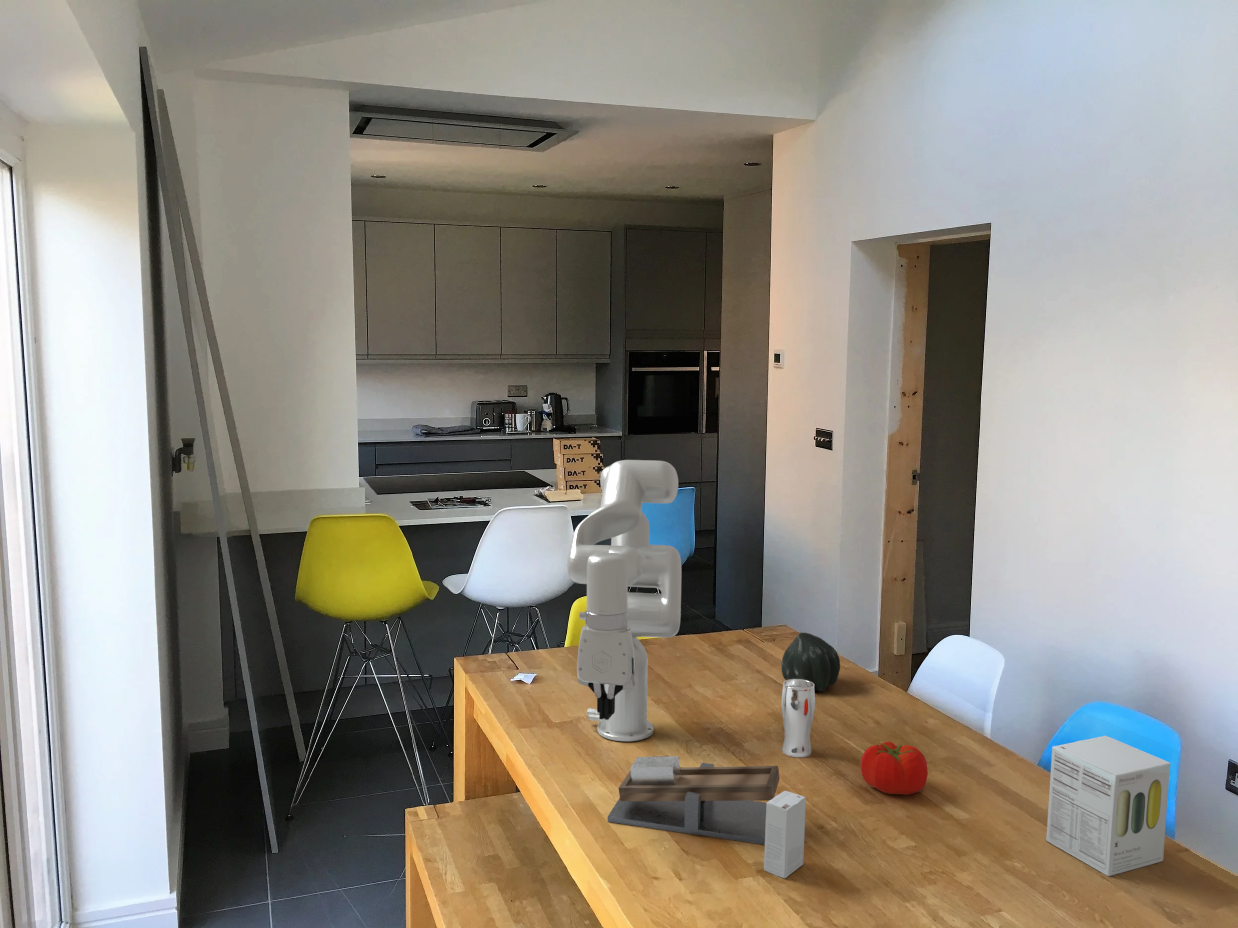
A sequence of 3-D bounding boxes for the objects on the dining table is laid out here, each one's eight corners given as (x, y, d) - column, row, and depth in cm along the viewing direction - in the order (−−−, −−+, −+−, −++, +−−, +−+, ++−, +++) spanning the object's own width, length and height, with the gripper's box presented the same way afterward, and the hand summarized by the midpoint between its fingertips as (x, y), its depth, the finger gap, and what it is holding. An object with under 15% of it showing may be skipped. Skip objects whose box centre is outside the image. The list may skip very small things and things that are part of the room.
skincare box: (781, 856, 165) (783, 788, 164) (805, 865, 163) (807, 796, 161) (762, 871, 161) (764, 800, 159) (786, 880, 158) (788, 809, 156)
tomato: (928, 779, 196) (930, 738, 195) (926, 806, 184) (928, 763, 183) (863, 770, 200) (864, 730, 199) (857, 796, 188) (858, 753, 187)
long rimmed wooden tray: (620, 801, 179) (618, 787, 179) (633, 780, 187) (631, 768, 187) (773, 800, 171) (771, 786, 171) (779, 778, 179) (777, 765, 179)
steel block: (632, 788, 180) (630, 767, 180) (639, 777, 185) (637, 756, 184) (675, 788, 178) (672, 766, 177) (681, 776, 182) (678, 755, 182)
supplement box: (1108, 878, 160) (1115, 775, 158) (1044, 841, 172) (1050, 745, 170) (1165, 861, 165) (1172, 762, 163) (1099, 827, 177) (1105, 733, 175)
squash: (858, 665, 251) (822, 616, 255) (838, 683, 238) (800, 632, 242) (818, 692, 258) (783, 645, 262) (796, 711, 245) (760, 661, 249)
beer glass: (813, 759, 205) (815, 690, 203) (779, 756, 206) (781, 687, 205) (813, 746, 212) (815, 679, 210) (780, 744, 213) (782, 677, 212)
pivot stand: (606, 822, 177) (607, 785, 176) (629, 787, 191) (629, 753, 190) (779, 848, 168) (780, 809, 167) (789, 809, 182) (790, 773, 182)
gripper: (561, 621, 179) (561, 719, 181) (640, 628, 175) (639, 728, 177) (575, 612, 186) (574, 706, 188) (651, 618, 182) (649, 714, 184)
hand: (605, 716), depth 182 cm, fingers closed
